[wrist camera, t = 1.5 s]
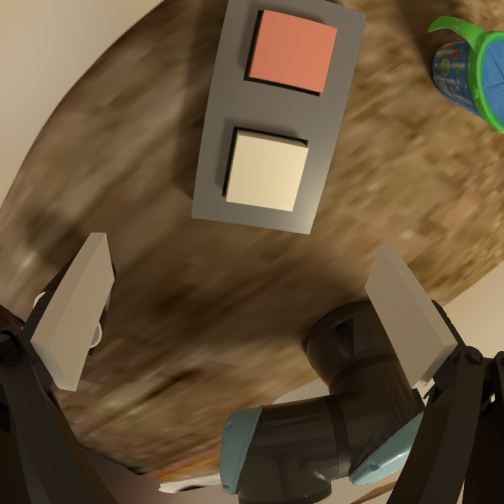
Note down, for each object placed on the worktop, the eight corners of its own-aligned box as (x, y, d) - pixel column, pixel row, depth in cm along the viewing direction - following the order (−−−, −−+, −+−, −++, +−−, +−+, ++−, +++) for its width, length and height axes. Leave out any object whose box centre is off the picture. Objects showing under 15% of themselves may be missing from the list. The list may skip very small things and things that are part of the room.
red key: (325, 33, 22) (337, 28, 19) (311, 90, 25) (322, 92, 22) (260, 17, 21) (264, 9, 19) (247, 76, 25) (249, 76, 22)
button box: (351, 20, 24) (366, 14, 20) (301, 217, 35) (309, 234, 32) (233, -9, 22) (233, -20, 18) (194, 201, 33) (190, 217, 30)
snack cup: (387, 45, 25) (443, 42, 16) (436, 0, 21) (494, -8, 12) (459, 145, 31) (513, 173, 22) (499, 98, 27) (553, 116, 18)
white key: (300, 140, 28) (308, 148, 25) (285, 197, 31) (292, 211, 28) (237, 128, 27) (238, 134, 24) (226, 187, 30) (226, 201, 27)
